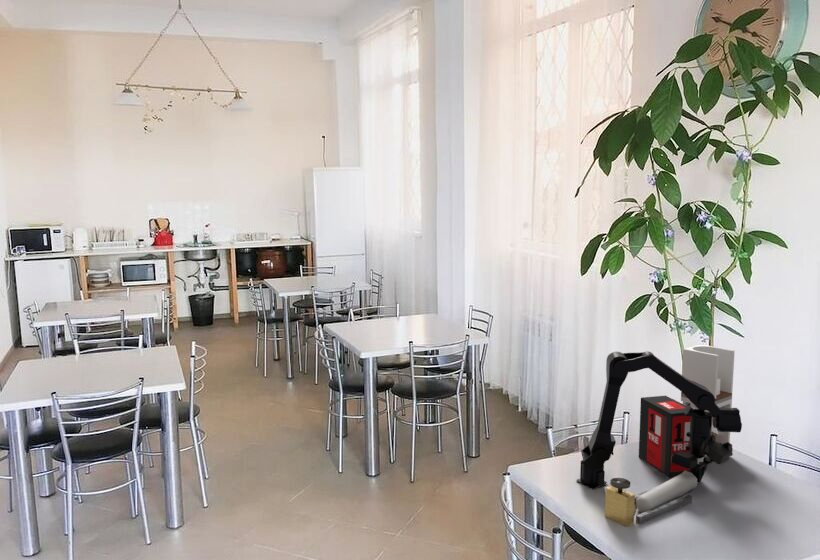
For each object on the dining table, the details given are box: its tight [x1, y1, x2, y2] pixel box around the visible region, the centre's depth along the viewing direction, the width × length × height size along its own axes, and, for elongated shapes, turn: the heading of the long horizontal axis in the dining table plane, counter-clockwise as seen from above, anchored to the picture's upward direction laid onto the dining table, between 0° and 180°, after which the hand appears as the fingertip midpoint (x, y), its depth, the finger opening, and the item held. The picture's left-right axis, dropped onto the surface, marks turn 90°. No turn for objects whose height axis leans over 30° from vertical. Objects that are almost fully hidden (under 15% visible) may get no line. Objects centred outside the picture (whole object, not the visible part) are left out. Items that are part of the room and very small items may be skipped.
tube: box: [635, 471, 698, 513], centre depth 195 cm, size 5×5×25 cm
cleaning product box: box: [638, 395, 692, 479], centre depth 218 cm, size 16×9×20 cm, turn 13°
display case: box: [680, 344, 735, 465], centre depth 226 cm, size 11×11×35 cm
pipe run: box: [604, 477, 693, 527], centre depth 189 cm, size 9×27×11 cm, turn 123°
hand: (698, 482), depth 202 cm, fingers closed
